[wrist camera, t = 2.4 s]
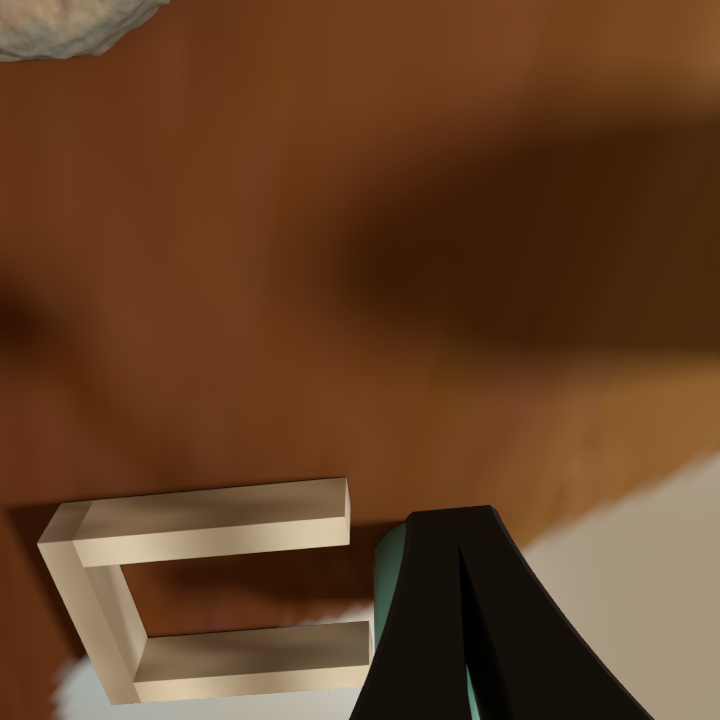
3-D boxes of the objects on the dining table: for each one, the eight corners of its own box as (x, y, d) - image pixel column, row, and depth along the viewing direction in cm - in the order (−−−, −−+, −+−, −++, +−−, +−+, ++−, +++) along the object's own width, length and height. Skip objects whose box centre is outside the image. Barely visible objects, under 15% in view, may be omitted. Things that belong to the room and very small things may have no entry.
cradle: (127, 660, 28) (111, 705, 26) (61, 503, 24) (36, 543, 22) (372, 641, 27) (372, 685, 25) (346, 477, 23) (344, 516, 21)
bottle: (378, 601, 26) (385, 844, 18) (367, 523, 24) (370, 759, 17) (481, 593, 26) (531, 835, 18) (478, 514, 24) (531, 748, 16)
